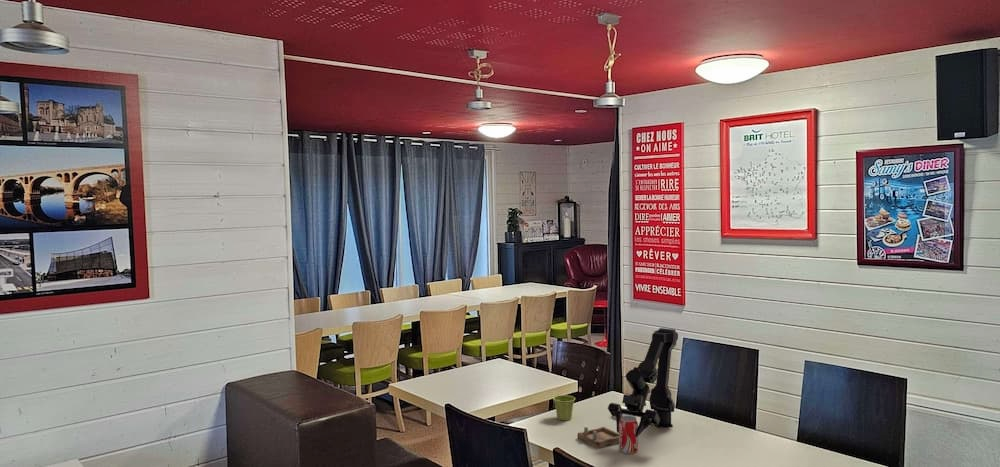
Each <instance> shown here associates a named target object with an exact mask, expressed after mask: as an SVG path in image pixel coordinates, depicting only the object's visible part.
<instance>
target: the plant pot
mask: <svg viewBox="0 0 1000 467" xmlns="http://www.w3.org/2000/svg"><path fill="white" fill-rule="evenodd" d="M552 400H553V401H554V402H553V403H554V406H555V411H556V418H557V420H559V421H561V420H563V421H570V420H571V419H573V418H572V417H573V409H574V408H573V407H574V403H575V400H576V397H574V396H573V395H566V394H564V395H563V394H561V395H560V394H559V395H556V396H554V397H553V398H552Z"/></svg>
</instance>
